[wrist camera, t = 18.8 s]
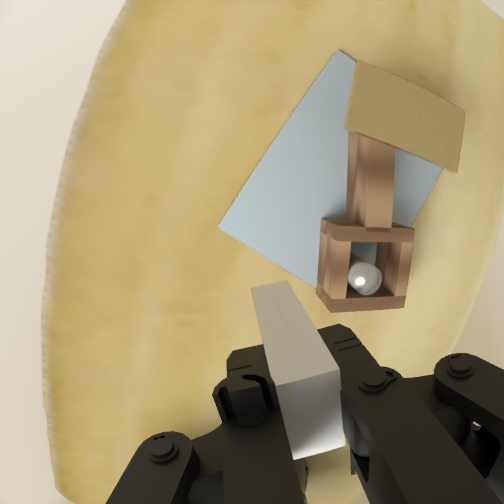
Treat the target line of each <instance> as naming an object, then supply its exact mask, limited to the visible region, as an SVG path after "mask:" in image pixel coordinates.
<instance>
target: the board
mask: <svg viewBox="0 0 504 504" xmlns="http://www.w3.org/2000/svg"><path fill="white" fill-rule="evenodd" d="M355 66H356V62H355V61H354V60H352V59H351V58H349V57H348V56H347V55H345V54H344V53H343V52H341V51H340V50H337V51H336V52H335V54H334V55H333V57H332V58H331V59H330V61H329V62H328V63H327V65H326V66H325V68H324V69H323V70H322V72H321V73H320V75H319V76H318V77H317V79H316V80H315V82H314V83H313V84H312V86H311V87H310V89H309V90H308V91H307V93H306V94H305V96H304V97H303V99H302V100H301V101H300V103H299V104H298V106H297V107H296V109H295V110H294V112H293V113H292V114H291V116H290V117H289V119H288V120H287V122H286V123H285V125H284V126H283V128H282V129H281V131H280V132H279V134H278V135H277V136H276V138H275V139H274V141H273V142H272V144H271V145H270V147H269V148H268V150H267V151H266V153H265V154H264V156H263V157H262V159H261V160H260V162H259V163H258V165H257V166H256V168H255V169H254V171H253V172H252V174H251V176H250V177H249V179H248V180H247V182H246V183H245V185H244V186H243V188H242V189H241V191H240V192H239V194H238V195H237V197H236V199H235V200H234V202H233V203H232V205H231V206H230V208H229V210H228V211H227V213H226V214H225V216H224V217H223V219H222V221H221V222H220V224H219V225H218V227H217V228H219V229H220V230H222V231H224V232H225V233H227V234H229V235H230V236H232V237H233V238H235V239H237V240H238V241H240V242H241V243H243V244H245V245H246V246H248V247H250V248H251V249H253V250H254V251H256V252H258V253H259V254H261V255H262V256H264V257H266V258H267V259H269V260H271V261H272V262H274V263H275V264H277V265H279V266H280V267H282V268H283V269H285V270H287V271H288V272H290V273H291V274H293V275H295V276H296V277H298V278H300V279H301V280H303V281H304V282H306V283H308V284H309V285H311V286H312V287H314V288H316V286H317V273H318V259H319V244H320V227H321V219H345V214H346V194H347V166H348V131H346V130H343V128H344V123H345V118H346V113H347V108H348V103H349V98H350V93H351V88H352V82H353V77H354V71H355ZM442 169H443V168H441V167H439V166H437V165H434V164H432V163H430V162H427V161H425V160H423V159H420V158H418V157H416V156H413V155H411V154H408V153H406V152H404V151H401V150H399V149H396V148H395V172H394V196H393V212H392V222H394V223H397V224H401V225H404V226H407V227H410V226H411V224H412V222H413V221H414V219H415V217H416V216H417V214H418V212H419V211H420V209H421V207H422V205H423V204H424V202H425V200H426V198H427V197H428V195H429V193H430V191H431V189H432V188H433V186H434V184H435V182H436V180H437V178H438V176H439V175H440V173H441V171H442ZM376 249H377V242H351V249H350V251H351V252H352V253H354V254H356V255H357V256H359V257H360V258H362V259H364V260H365V261H367V262H368V263H370V264H372V265H373V266H375V259H376ZM353 312H354V311H353Z"/></svg>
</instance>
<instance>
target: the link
mask: <svg viewBox="0 0 504 504" xmlns="http://www.w3.org/2000/svg"><path fill="white" fill-rule="evenodd" d="M394 172H395V148H393V147H391V146H388V145H386V144H383V143H380V142H378V141H375V140H372V139H369V138H367V137H364V136H361V135H358V134H355V133H352V132H349V131H348V166H347V194H346V214H345V219H321V227H320V244H319V259H318V273H317V286H316V294H317V295H318V297H319V298H320V299H321V301H322V302H323V303H324V305H325V306H326V307H327V309H328V310H329V311H330V312H331V313H333V312H352V311H369V310H384V309H397V308H404V304H405V298H406V292H407V286H408V279H409V272H410V265H411V257H412V249H413V239H414V228H410V227H407V226H404V225H401V224H397V223H394V222H392V212H393V196H394ZM351 242H377V249H376V259H375V267H376V268H378V269H379V270H380V272H381V274H382V282H381V285H380V287H379V289H378V290H377V291H376V292H374V293H373V294H370V295H362V294H360V293H359V292H358V291H357V290H356V289H354V288H353V287H352V286H351V285H350V284H349V283H348V282H347V281H348V271H349V261H350V249H351Z"/></svg>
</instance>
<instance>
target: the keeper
mask: <svg viewBox="0 0 504 504" xmlns="http://www.w3.org/2000/svg"><path fill="white" fill-rule="evenodd" d="M464 121H465V111H464V110H462V109H460V108H459V107H457V106H455V105H453V104H452V103H450V102H448V101H446V100H444V99H443V98H441V97H439V96H437V95H435V94H433V93H431V92H429V91H428V90H426V89H424V88H422V87H420V86H418V85H416V84H413V83H411V82H409V81H407V80H405V79H403V78H401V77H399V76H396V75H394V74H392V73H390V72H387V71H385V70H383V69H380V68H378V67H376V66H373V65H371V64H368V63H366V62H363V61H360V60H359V61H357V62H356V66H355V71H354V77H353V82H352V88H351V93H350V98H349V103H348V108H347V113H346V118H345V123H344V128H343V130H346V131H349V132H352V133H355V134H358V135H361V136H364V137H367V138H369V139H372V140H375V141H378V142H380V143H383V144H386V145H388V146H391V147H393V148H396V149H399V150H401V151H404V152H406V153H408V154H411V155H413V156H416V157H418V158H420V159H423V160H425V161H427V162H430V163H432V164H434V165H437V166H439V167H441V168H443V169H445V170H448V171H450V172H452V173H457V170H458V165H459V158H460V152H461V145H462V138H463V130H464Z"/></svg>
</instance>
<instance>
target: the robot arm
mask: <svg viewBox="0 0 504 504" xmlns="http://www.w3.org/2000/svg"><path fill="white" fill-rule="evenodd" d="M251 293H252V297H253V302H254V306H255V310H256V315H257V319H258V323H259V328H260V332H261V336H262V341H263V344H261V345H257V346H252V347H248V348H243V349H239V350H234V351H232V353H231V354H230V356H229V357H228V359H227V378H225V379H224V380H222V381H221V382H220V383H219V384H218V385H217V386H216V387H215V388H214V391H213V394H212V396H213V399H214V401H215V404H216V407H217V409H218V412H219V415H220V417H221V420H222V424H221V425H220V426H219V427H218V428H216V429H215V430H214V431H212V432H210V433H208V434H206V435H203V436H201V437H198V438H195V439H193V440H190V439H189V438H188V437H187V436H185V435H184V434H183V433H178V432H174V431H172V432H162V433H159V434H156V435H153V436H151V437H150V438H148V439H146V440H145V441H144V442H143V443H142V444H141V445H140V446H139V447H138V449H137V451H136V452H135V454H134V456H133V457H132V459H131V461H130V463H129V464H128V466H127V468H126V469H125V471H124V473H123V475H122V476H121V478H120V480H119V482H118V483H117V485H116V487H115V488H114V490H113V492H112V494H111V495H110V497H109V499H108V500H107V502H106V504H308V503H307V500H306V496H305V492H306V485H307V476H308V472H309V465H308V461H307V458H306V457H307V456H311V455H315V454H319V453H322V452H326V451H329V450H333V449H336V448H340V447H343V446H345V436H346V438H347V441H348V443H349V445H350V462H351V475H354V474H355V470H356V472H357V475H358V477H359V479H360V482H361V484H362V486H363V488H364V491H365V493H366V495H367V498H368V500H369V502H370V504H504V370H503V369H501V368H499V367H497V366H495V365H493V364H491V363H489V362H487V361H485V360H483V359H481V358H479V357H477V356H474V355H471V354H468V353H456V354H451V355H448V356H446V357H444V358H442V359H440V360H439V361H438V362H437V363H436V366H435V369H434V374H433V375H427V376H421V377H414V378H403V377H402V376H401V374H399V373H398V372H397V371H395V370H394V369H391V368H388V367H380V365H379V364H378V363H377V361H376V360H375V359H374V358H373V356H372V355H371V354H370V353H369V351H368V350H367V349H366V348H365V346H364V345H362V343H361V341H360V340H359V339H358V338H357V336H356V335H355V334H354V332H353V331H352V330H351V329H350V328H348V327H345V326H343V325H341V324H336V325H332V326H329V327H325V328H321V329H318V330H317V329H316V328H315V326H314V324H313V323H312V321H311V319H310V318H309V316H308V314H307V313H306V311H305V309H304V307H303V306H302V304H301V302H300V301H299V299H298V297H297V296H296V294H295V292H294V291H293V289H292V287H291V286H290V284H289V282H288V281H287V280H285V281H281V282H277V283H272V284H268V285H264V286H259V287H255V288H251ZM473 421H474V422H476V423H477V424H479V425H481V426H476V425H475V424H473Z"/></svg>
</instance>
